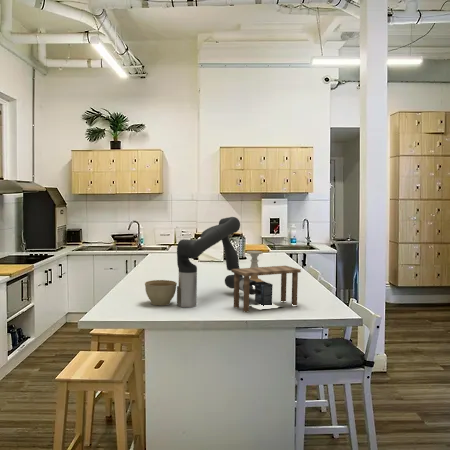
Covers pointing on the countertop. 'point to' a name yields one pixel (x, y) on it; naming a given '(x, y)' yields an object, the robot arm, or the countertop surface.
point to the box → (264, 293)
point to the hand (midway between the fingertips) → (265, 292)
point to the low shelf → (264, 271)
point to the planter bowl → (160, 291)
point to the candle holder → (254, 263)
